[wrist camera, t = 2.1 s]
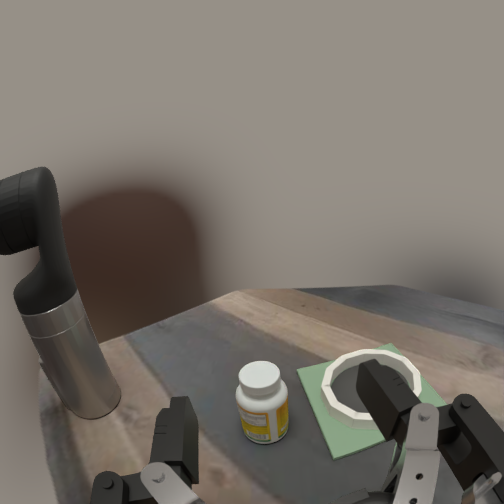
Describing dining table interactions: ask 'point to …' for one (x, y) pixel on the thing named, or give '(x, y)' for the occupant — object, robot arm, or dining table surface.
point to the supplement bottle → (262, 402)
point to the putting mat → (355, 397)
